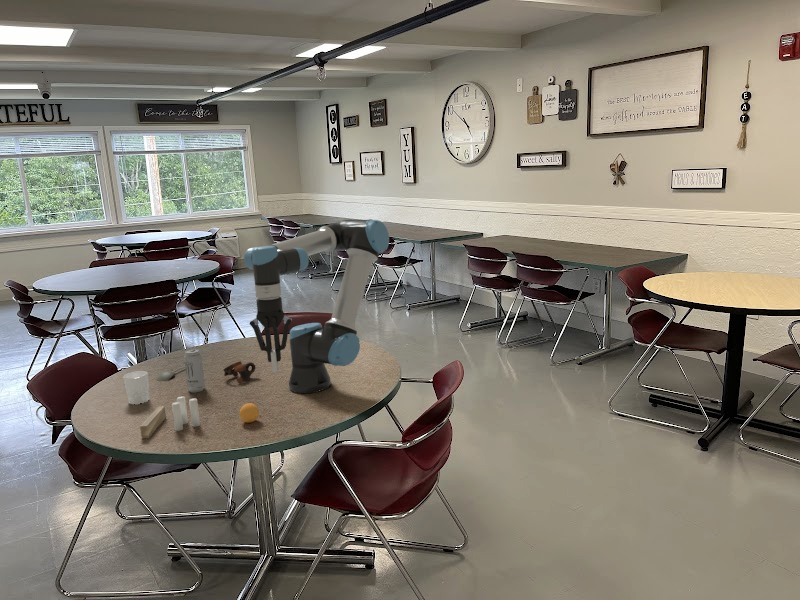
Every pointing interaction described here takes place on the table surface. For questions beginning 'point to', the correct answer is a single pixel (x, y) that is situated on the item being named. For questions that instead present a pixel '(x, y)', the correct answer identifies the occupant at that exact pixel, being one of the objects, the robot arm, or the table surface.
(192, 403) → the front pin
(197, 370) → the energy drink can
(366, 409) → the table surface
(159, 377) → the soupspoon
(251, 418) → the ball
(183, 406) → the pin
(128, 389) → the white cup
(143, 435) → the back wall
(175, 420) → the pin
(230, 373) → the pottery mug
